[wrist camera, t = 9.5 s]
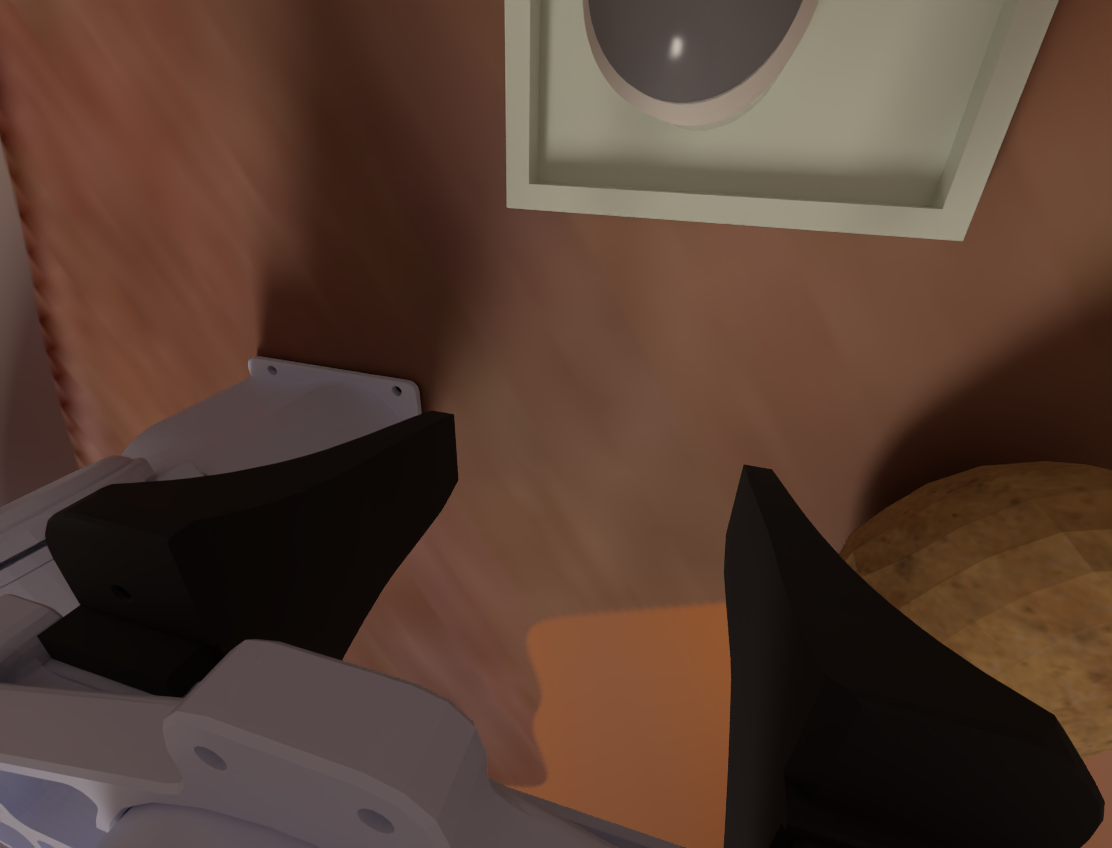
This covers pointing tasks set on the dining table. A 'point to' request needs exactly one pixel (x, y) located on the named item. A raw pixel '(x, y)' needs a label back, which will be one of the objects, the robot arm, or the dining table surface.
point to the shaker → (694, 53)
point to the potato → (1009, 580)
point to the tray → (783, 122)
